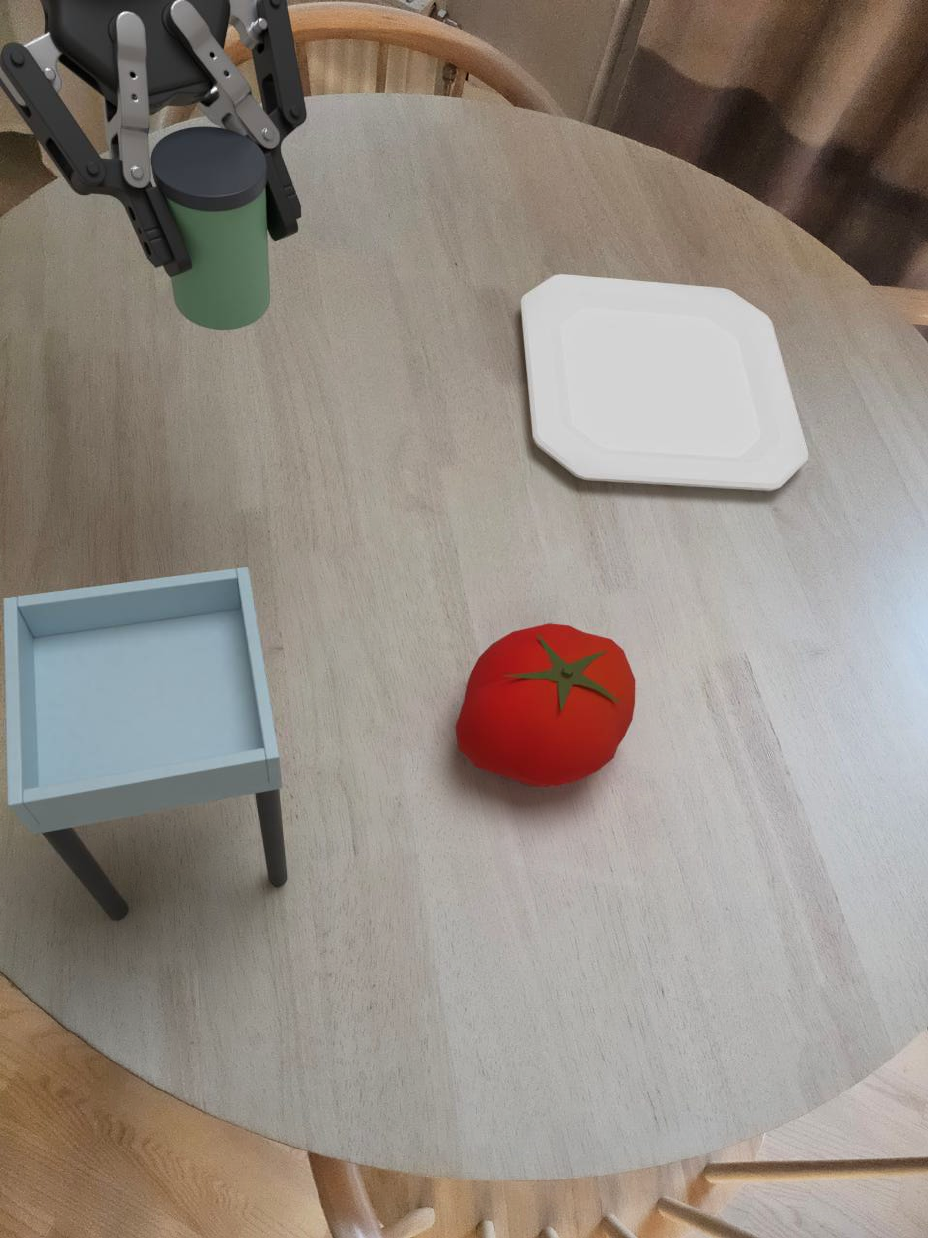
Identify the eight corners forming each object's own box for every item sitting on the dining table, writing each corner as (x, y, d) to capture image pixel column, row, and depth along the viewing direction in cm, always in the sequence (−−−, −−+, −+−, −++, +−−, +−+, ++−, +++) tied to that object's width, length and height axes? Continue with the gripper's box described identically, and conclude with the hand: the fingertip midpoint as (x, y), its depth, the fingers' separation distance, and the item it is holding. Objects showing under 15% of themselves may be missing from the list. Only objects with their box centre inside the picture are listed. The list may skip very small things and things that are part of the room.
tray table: (107, 925, 58) (6, 805, 39) (96, 770, 63) (2, 597, 44) (290, 886, 61) (279, 757, 42) (267, 740, 65) (248, 565, 46)
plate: (532, 489, 80) (537, 472, 78) (514, 286, 92) (518, 267, 90) (809, 505, 83) (821, 489, 81) (756, 306, 95) (765, 289, 93)
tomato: (418, 704, 68) (433, 635, 60) (565, 641, 73) (600, 568, 64) (492, 841, 64) (521, 788, 55) (644, 766, 68) (693, 706, 59)
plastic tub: (177, 335, 49) (156, 198, 42) (167, 266, 51) (145, 126, 44) (279, 328, 50) (274, 194, 43) (264, 261, 52) (257, 124, 46)
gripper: (-102, -179, 34) (115, 291, 40) (248, -220, 40) (390, 196, 46) (-107, -83, 40) (82, 311, 47) (196, -131, 46) (328, 225, 52)
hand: (234, 252), depth 46 cm, fingers closed on plastic tub, 5 cm apart
